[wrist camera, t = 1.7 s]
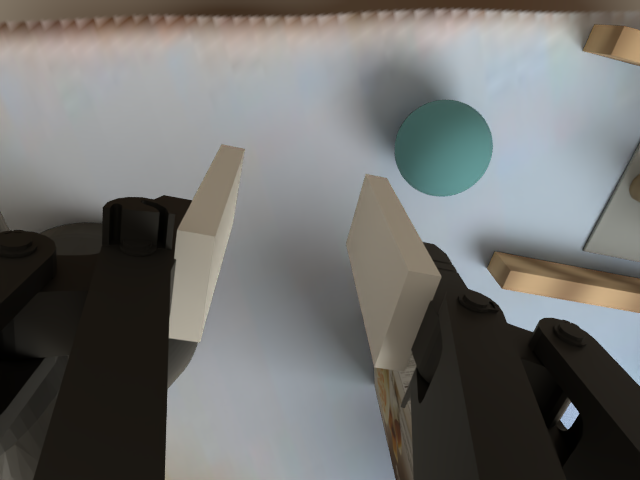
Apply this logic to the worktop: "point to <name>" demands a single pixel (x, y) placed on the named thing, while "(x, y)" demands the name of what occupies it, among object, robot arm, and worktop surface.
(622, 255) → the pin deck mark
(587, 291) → the lane
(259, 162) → the worktop surface
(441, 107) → the ball
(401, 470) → the coffee box
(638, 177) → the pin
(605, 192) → the worktop surface
